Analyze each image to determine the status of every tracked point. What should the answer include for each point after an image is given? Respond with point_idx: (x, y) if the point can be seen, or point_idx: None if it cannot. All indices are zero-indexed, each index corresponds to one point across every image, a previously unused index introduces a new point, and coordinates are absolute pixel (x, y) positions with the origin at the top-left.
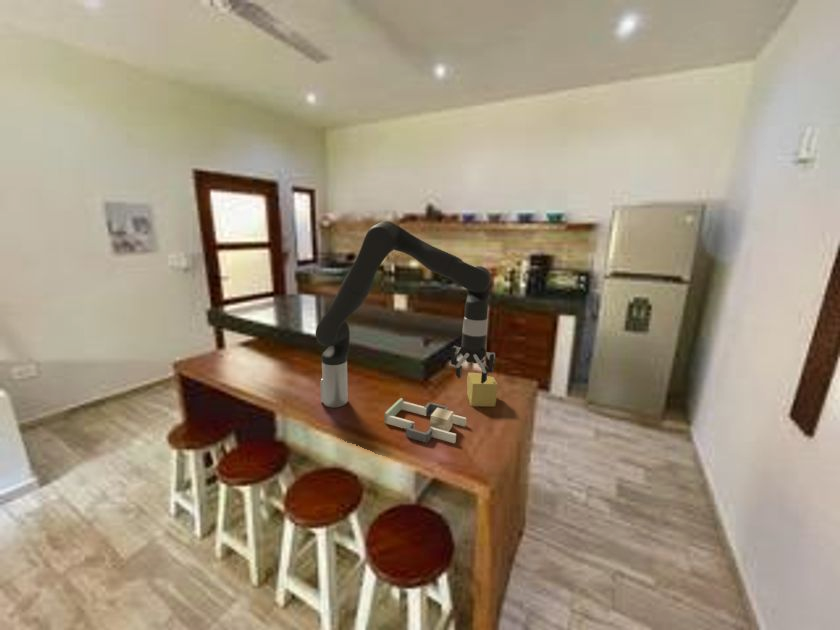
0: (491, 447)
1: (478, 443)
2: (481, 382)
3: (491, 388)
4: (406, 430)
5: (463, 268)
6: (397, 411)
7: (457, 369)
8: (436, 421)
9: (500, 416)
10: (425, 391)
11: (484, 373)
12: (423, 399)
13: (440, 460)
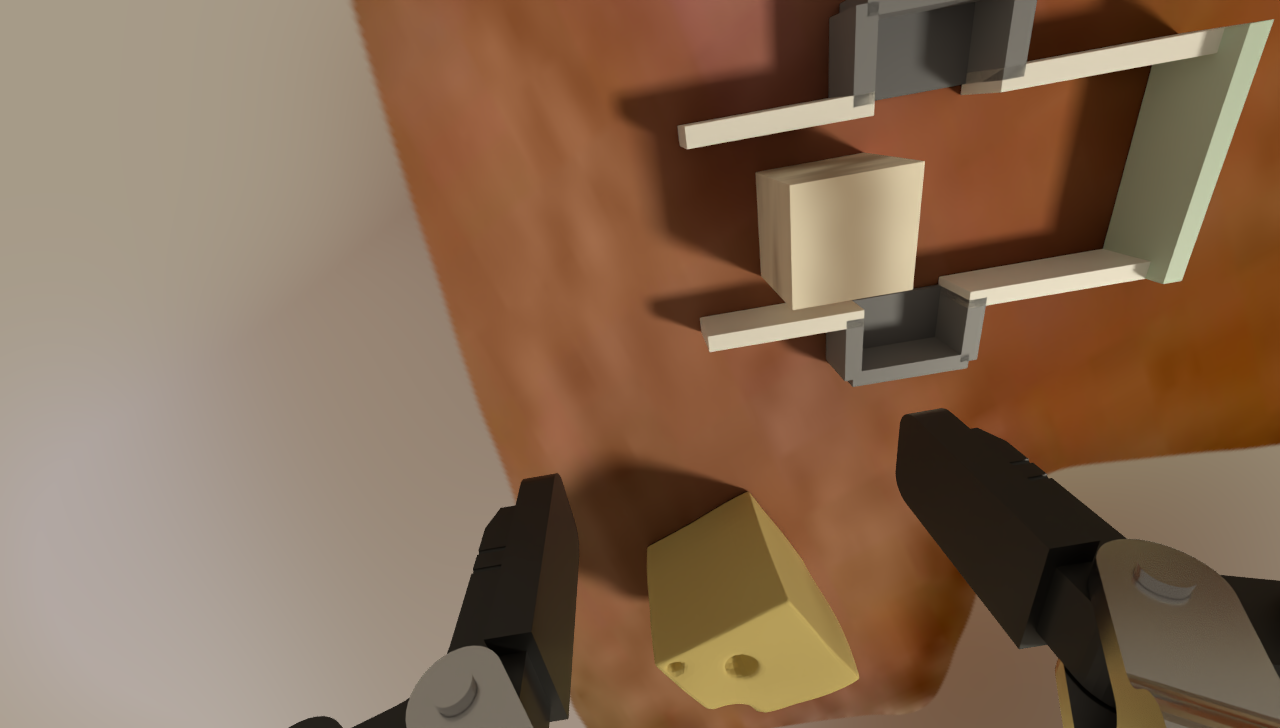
0: (489, 230)
1: (565, 219)
2: (547, 479)
3: (680, 624)
4: None
5: None
6: (1129, 196)
7: (1071, 520)
8: (858, 167)
9: (589, 495)
10: None
11: (488, 645)
12: (1000, 409)
13: None
